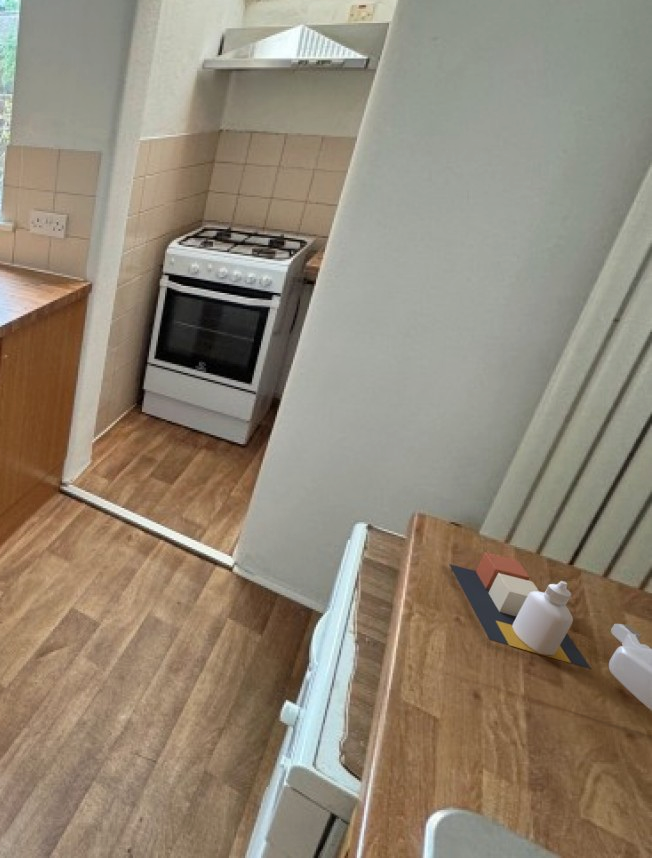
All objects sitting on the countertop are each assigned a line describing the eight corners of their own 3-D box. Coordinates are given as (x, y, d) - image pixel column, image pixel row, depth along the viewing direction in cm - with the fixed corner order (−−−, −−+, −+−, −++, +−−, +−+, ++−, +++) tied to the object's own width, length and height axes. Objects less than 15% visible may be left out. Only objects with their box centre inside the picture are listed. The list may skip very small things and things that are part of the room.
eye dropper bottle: (547, 636, 95) (579, 578, 91) (555, 661, 91) (589, 601, 86) (510, 622, 97) (540, 565, 93) (515, 646, 93) (547, 587, 89)
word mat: (533, 588, 105) (535, 585, 105) (590, 672, 90) (592, 669, 90) (447, 566, 110) (449, 563, 110) (488, 642, 95) (490, 639, 94)
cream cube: (522, 601, 102) (532, 581, 100) (534, 621, 98) (545, 600, 96) (488, 592, 103) (498, 572, 102) (499, 611, 100) (509, 591, 98)
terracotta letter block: (507, 579, 106) (517, 559, 105) (519, 597, 102) (529, 577, 101) (475, 571, 108) (484, 551, 106) (485, 588, 104) (495, 568, 103)
